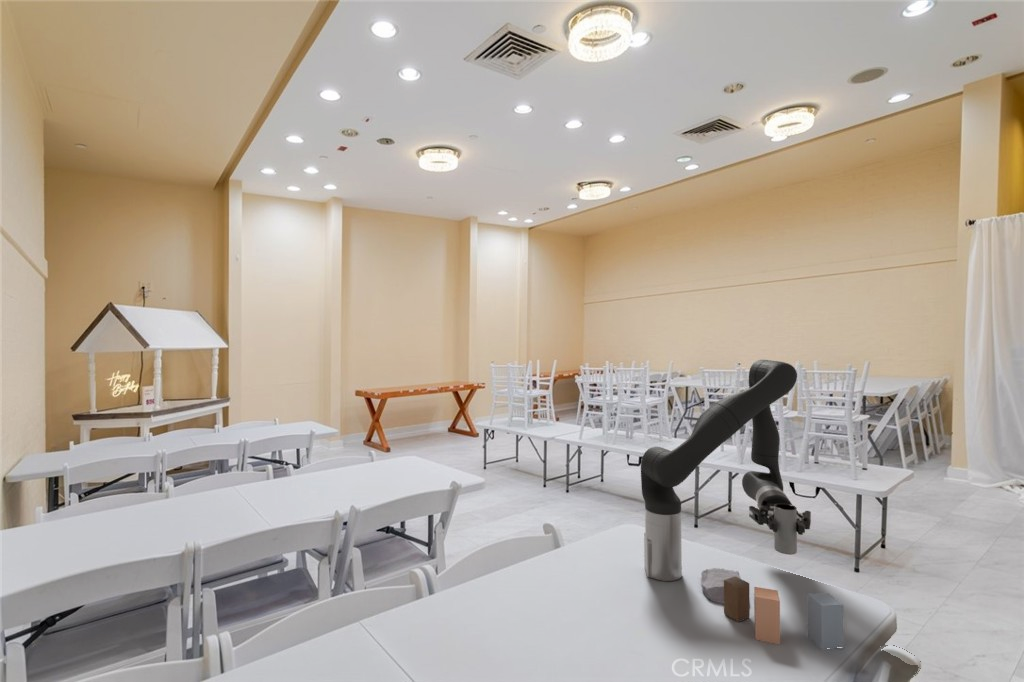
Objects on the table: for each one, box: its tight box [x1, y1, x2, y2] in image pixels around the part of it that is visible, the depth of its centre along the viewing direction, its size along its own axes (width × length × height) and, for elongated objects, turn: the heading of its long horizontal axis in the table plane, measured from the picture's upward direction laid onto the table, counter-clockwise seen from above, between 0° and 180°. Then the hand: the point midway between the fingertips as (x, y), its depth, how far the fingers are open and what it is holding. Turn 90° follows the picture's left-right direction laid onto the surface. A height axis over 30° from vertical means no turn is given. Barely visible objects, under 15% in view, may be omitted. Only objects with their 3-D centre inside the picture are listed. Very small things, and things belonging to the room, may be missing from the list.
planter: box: [773, 503, 798, 555], centre depth 116 cm, size 4×4×10 cm
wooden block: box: [723, 576, 751, 623], centre depth 114 cm, size 4×4×8 cm
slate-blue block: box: [806, 592, 844, 650], centre depth 104 cm, size 4×4×9 cm
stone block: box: [700, 567, 742, 604], centre depth 125 cm, size 12×5×10 cm
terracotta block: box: [753, 586, 781, 645], centre depth 106 cm, size 4×4×9 cm
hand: (788, 529), depth 113 cm, fingers closed on planter, 4 cm apart
